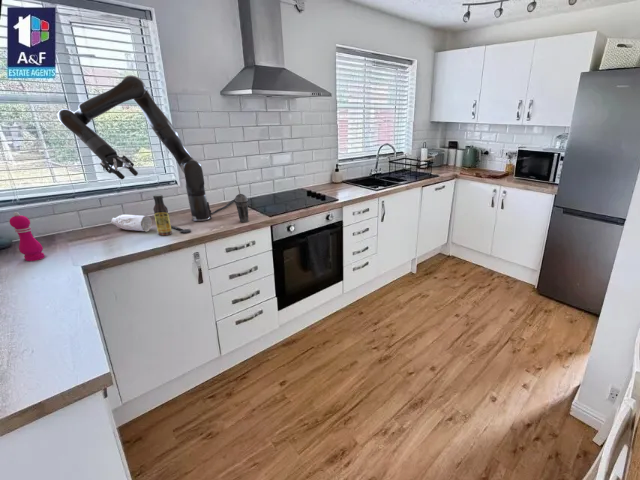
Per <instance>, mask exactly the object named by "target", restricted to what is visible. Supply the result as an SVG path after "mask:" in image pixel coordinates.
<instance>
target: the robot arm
mask: <svg viewBox="0 0 640 480" xmlns="http://www.w3.org/2000/svg"><path fill="white" fill-rule="evenodd" d="M131 100H133V101H134V102H135V104H136V105H137V106H138V107H139V109H140V110H141V111H142V113H143V115H144V117H145V119H146V121H147V123H148V124H149V126H150V128H151V130H152V131H153V132H154V134H155V135H156V137H158V139H159V140H160V141H161V143H162V144H163V145H164V147H165V148H166V149H167V150H168V152H170V154H171V155H172V156H173V158H174V159H175V161H176V162H177V164H178V166H179V168H180V169H181V172H182V173H183V174H184V180H185V190H186V195H187V200H188V204H189V209H190V213H191V220H192V222H206V221H209V220H211V219H212V215H213V214H216V213H218V212H219V211H221V210H224V209H225V208H227V207H229V206H230V205H231V204H232V203H233V202H235V198H234V199H232V200H230V201H229V203H227V204H226V205H224V206H223V207H220V208H218V209H215V210H214V211H213V212H212V210H211V207H210V202H209V201H208V199H207V193H206V188H205V177H204V171H203V167H202V165H201V164H200V162H199V161H197V160H195V159H194V158H193V157H192V155H191V154H190V153H189V152H188V150H187V149H186V148H185V147H186V146H184V144H183V141H182V139H181V137H180V136H179V133H178V131H177V130H176V129H175V127H174V125H173V124H172V122H171V121H170V120H169V118H168V117H167V116H166V114H165V113H164V112H163V110H161V108H160V107H159V106H158V105H157V103H156V102H155V100H154V99H153V97H152V95H151V94H150V92H149V91H148V89H147V86H146V84H145V83H144V81H143V79H141V78H140V77H138V76H136V75H134V74H133V75H126V76H124V78H123V79H122V80H121V81H120V82H119V83H117V85H116V86H114V87H112V88H111V89H108V90H107V91H105V92H102V93H100V94H97V95H95V96H92V97H90V98H88V99H86V100H84V101H82V102H81V103H79V104H78V109H77V110H75V111H72V110H71V109H66V108H63V109H60V110H59V111H58V112H57V119H58V120H59V122H60V123H61V124H62V125H63V126H64V127H65V128H66V129H68V131H70V132H71V133H72V134H74V135H75V136H76V137H77V138H78V139H79V140H80V141H81V142H82V143H84V145H86V146H87V148H89V150H90V151H91V152H92V153H93V154H94V155H95V156H97V158H99V159H100V160H101V161H100V162H99V165H100V166H101V167H102V168H103V169H104V170H105V171H106V172H107V173H108V174H114V175H116V177H118V178H119V179H120V180H124V179H125V178H126V177H125V176H126V175H124V174H123V173H122V172H121V171H120V170H119V169H118V168H122V169H126V170H128V171H129V172H130V173H131V174H132V175H133V176H134V177H136V176H138V174H139V172H138V171H137V170H136V169H135V168H134V166H135V163H133V162H132V161H131V160H130V159H129V158H128V157H127V156H126V155H124V154H123V155H122V156H120V155H118V153H117V151H116V150H115V149H114V148H113V147H112V146H111V145H110V144H109V143H108V142H107V141H106V140H105V139H104V138H102V137H101V136H100V135H99V134H98V133H97V132H96V131H95V130H93V129H92V128H91V127H90V126H88V124H89V123H91V121H92V120H94V119H96V118H98V117H100V116H102V115H103V114H105V113H107V112H108V111H110V110H112V109H114V108H115V107H117V106H118V105H120V104H123V103H127V102H129V101H131Z"/></svg>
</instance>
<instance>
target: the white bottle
mask: <svg viewBox="0 0 640 480" xmlns="http://www.w3.org/2000/svg"><path fill="white" fill-rule="evenodd" d="M110 221H111V224H112V225H114V226H115V227H116V228H120V229H122V230H123V231H124V230H126V231H135V232H136V231H137V232H149V231H150V230H151V229H152V227H153V224H152V223H153V221H152V218H151V217H150V216H148V215H137V214H120V215H117V216H116V217H113V216H112V218H111V219H110Z"/></svg>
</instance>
